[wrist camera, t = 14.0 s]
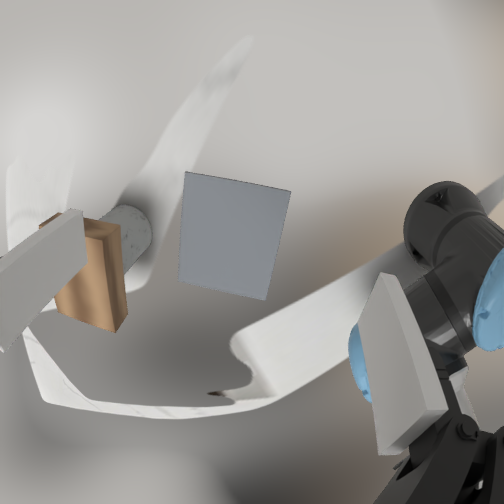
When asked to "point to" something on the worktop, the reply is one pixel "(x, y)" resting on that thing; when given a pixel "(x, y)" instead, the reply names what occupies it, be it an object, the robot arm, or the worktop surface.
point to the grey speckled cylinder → (130, 232)
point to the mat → (230, 234)
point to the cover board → (97, 279)
